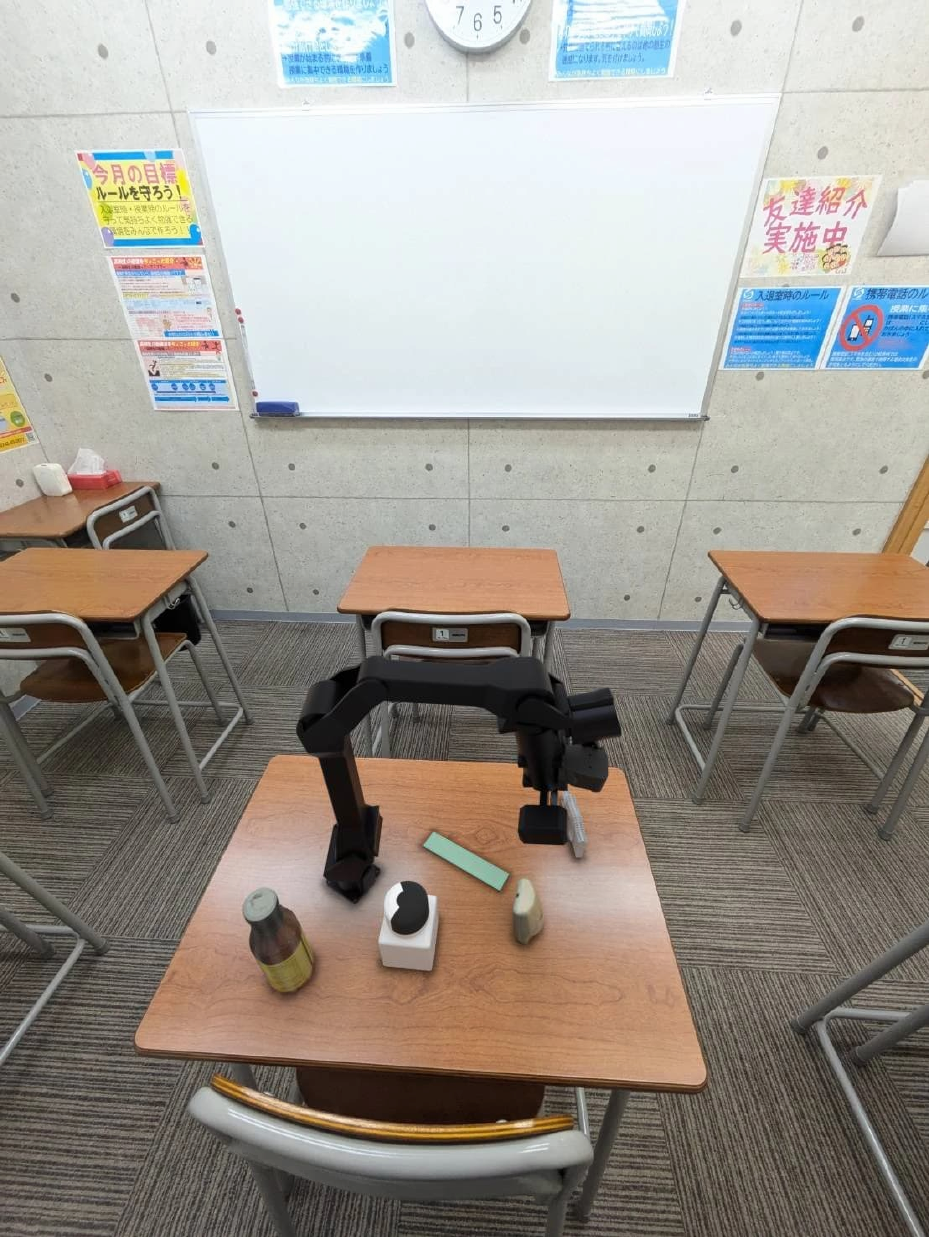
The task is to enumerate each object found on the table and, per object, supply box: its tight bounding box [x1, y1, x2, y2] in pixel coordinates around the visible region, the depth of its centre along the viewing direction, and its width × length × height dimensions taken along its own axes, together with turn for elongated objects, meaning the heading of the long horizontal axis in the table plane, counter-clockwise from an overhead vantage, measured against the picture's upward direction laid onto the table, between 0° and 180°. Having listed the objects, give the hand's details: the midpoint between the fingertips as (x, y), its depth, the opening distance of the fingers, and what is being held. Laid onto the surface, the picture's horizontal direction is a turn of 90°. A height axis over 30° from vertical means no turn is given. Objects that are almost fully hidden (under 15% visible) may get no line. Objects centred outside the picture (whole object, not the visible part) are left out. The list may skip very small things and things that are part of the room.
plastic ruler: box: [423, 831, 510, 892], centre depth 87 cm, size 15×3×1 cm, turn 58°
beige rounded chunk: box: [512, 877, 545, 945], centre depth 76 cm, size 6×5×8 cm
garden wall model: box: [560, 789, 589, 859], centre depth 90 cm, size 12×2×6 cm, turn 3°
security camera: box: [377, 880, 440, 972], centre depth 73 cm, size 7×7×12 cm
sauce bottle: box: [241, 886, 315, 995], centre depth 68 cm, size 6×6×20 cm
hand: (553, 814), depth 77 cm, fingers open, 9 cm apart
